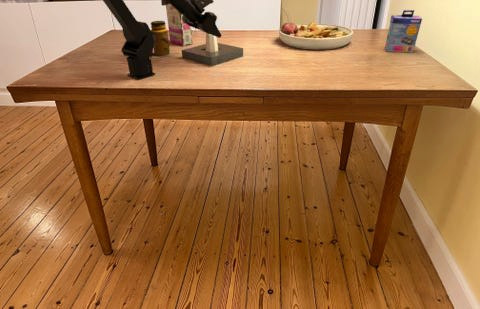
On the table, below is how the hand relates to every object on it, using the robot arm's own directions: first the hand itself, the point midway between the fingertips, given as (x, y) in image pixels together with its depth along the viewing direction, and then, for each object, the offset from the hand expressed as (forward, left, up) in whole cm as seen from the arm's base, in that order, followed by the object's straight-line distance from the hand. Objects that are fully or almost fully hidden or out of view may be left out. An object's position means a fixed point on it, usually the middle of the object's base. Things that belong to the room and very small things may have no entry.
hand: (214, 34), depth 120 cm
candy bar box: (+6, +27, -8) cm, 29 cm away
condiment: (-11, +19, -8) cm, 24 cm away
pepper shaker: (-2, 0, -8) cm, 8 cm away
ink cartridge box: (+49, -49, -8) cm, 70 cm away
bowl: (+42, -17, -9) cm, 46 cm away
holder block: (-1, 0, -8) cm, 8 cm away
